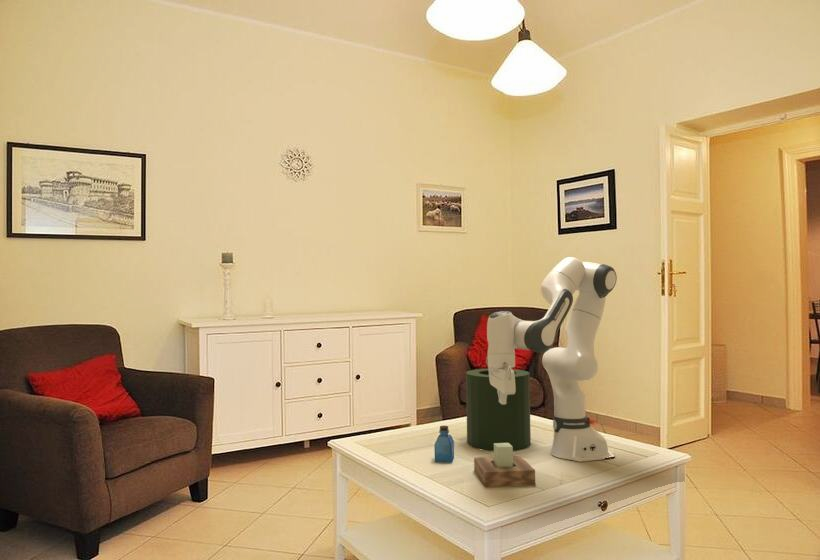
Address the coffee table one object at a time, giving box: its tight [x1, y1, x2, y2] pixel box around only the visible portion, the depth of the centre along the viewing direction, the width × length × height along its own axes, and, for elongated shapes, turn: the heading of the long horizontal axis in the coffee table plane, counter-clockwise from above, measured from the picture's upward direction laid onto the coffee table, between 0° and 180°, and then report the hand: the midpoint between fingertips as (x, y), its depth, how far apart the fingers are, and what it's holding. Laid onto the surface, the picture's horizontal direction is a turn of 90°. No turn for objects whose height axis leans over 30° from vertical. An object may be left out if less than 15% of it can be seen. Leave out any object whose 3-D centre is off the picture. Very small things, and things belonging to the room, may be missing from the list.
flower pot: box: [465, 368, 532, 452], centre depth 228 cm, size 25×25×28 cm
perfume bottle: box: [434, 425, 455, 464], centre depth 205 cm, size 6×6×12 cm
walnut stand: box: [473, 455, 536, 488], centre depth 185 cm, size 16×16×4 cm
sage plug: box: [493, 443, 514, 467], centre depth 185 cm, size 5×5×9 cm
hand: (502, 403), depth 185 cm, fingers closed
